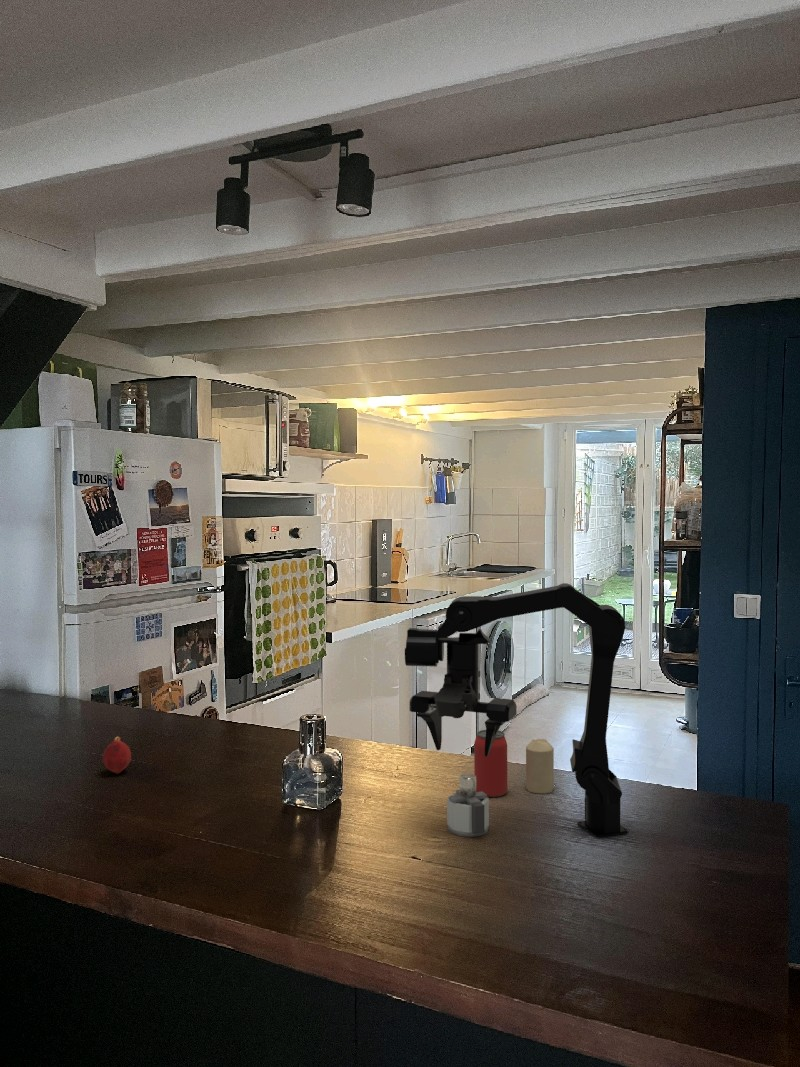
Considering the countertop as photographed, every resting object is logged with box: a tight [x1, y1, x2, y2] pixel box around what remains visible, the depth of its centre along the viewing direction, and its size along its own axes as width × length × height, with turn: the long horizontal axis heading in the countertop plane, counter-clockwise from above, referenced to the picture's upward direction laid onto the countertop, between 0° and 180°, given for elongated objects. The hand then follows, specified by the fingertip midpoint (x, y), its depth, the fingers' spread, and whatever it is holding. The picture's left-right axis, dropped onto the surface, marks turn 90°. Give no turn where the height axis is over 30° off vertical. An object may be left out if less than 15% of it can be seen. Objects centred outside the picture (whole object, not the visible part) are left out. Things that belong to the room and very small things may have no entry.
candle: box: [525, 738, 555, 795], centre depth 166 cm, size 6×6×10 cm
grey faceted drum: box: [446, 789, 490, 838], centre depth 146 cm, size 8×7×6 cm
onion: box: [102, 736, 132, 775], centre depth 178 cm, size 6×6×8 cm
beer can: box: [473, 729, 508, 798], centre depth 164 cm, size 7×7×12 cm
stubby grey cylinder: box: [458, 773, 476, 805], centre depth 146 cm, size 5×5×8 cm
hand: (462, 752), depth 149 cm, fingers open, 9 cm apart
